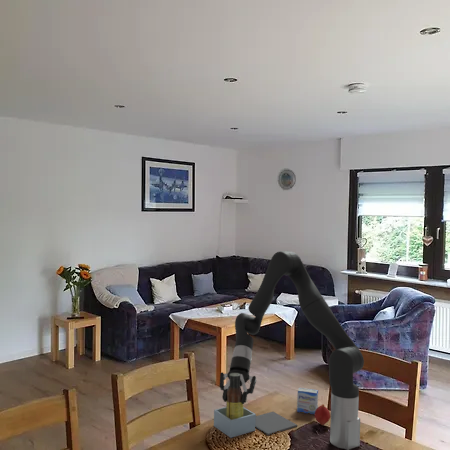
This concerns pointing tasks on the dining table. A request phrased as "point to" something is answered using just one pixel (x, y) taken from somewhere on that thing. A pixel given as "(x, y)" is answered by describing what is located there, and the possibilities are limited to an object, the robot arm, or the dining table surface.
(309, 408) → the medicine box
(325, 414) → the onion
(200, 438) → the dining table surface
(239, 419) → the tub
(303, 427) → the dining table surface
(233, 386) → the sauce bottle
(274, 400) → the dining table surface
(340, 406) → the robot arm
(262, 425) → the mat
